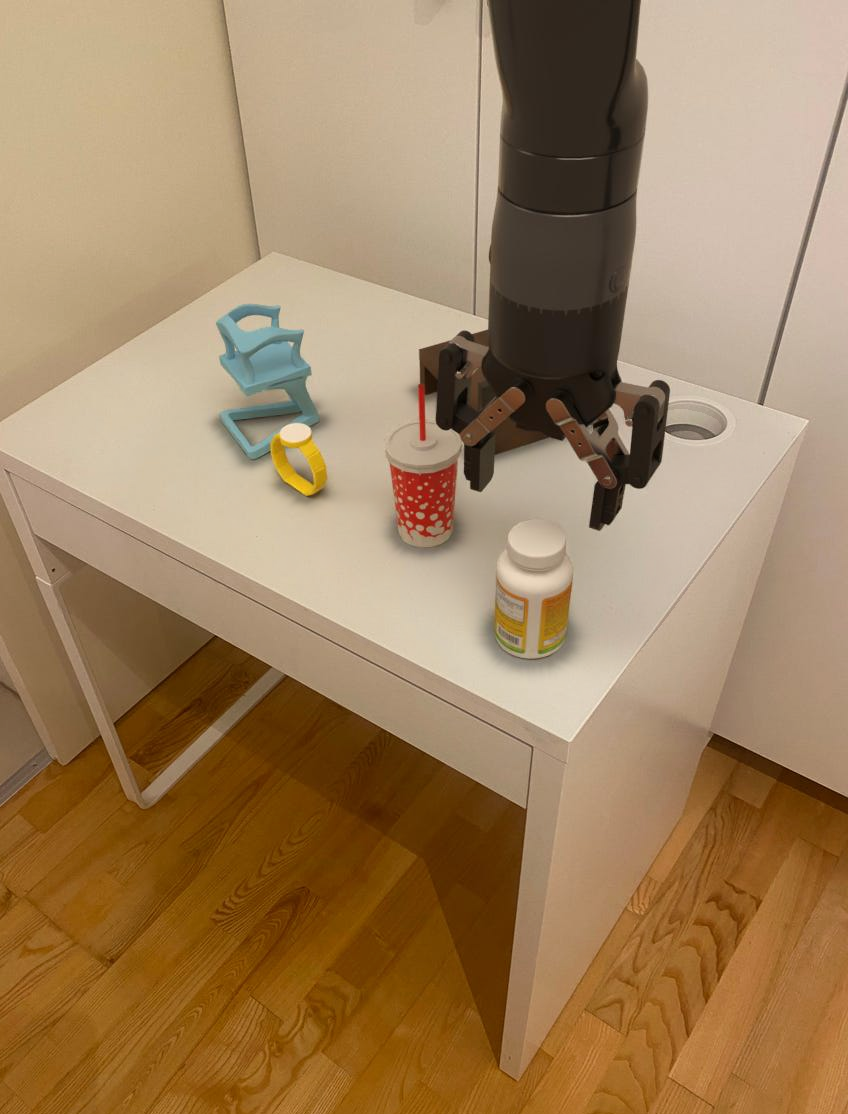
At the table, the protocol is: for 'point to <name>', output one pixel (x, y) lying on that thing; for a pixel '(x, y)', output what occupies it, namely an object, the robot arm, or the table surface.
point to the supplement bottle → (533, 590)
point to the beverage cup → (423, 478)
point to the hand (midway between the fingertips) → (539, 503)
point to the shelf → (476, 396)
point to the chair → (264, 371)
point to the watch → (302, 439)
